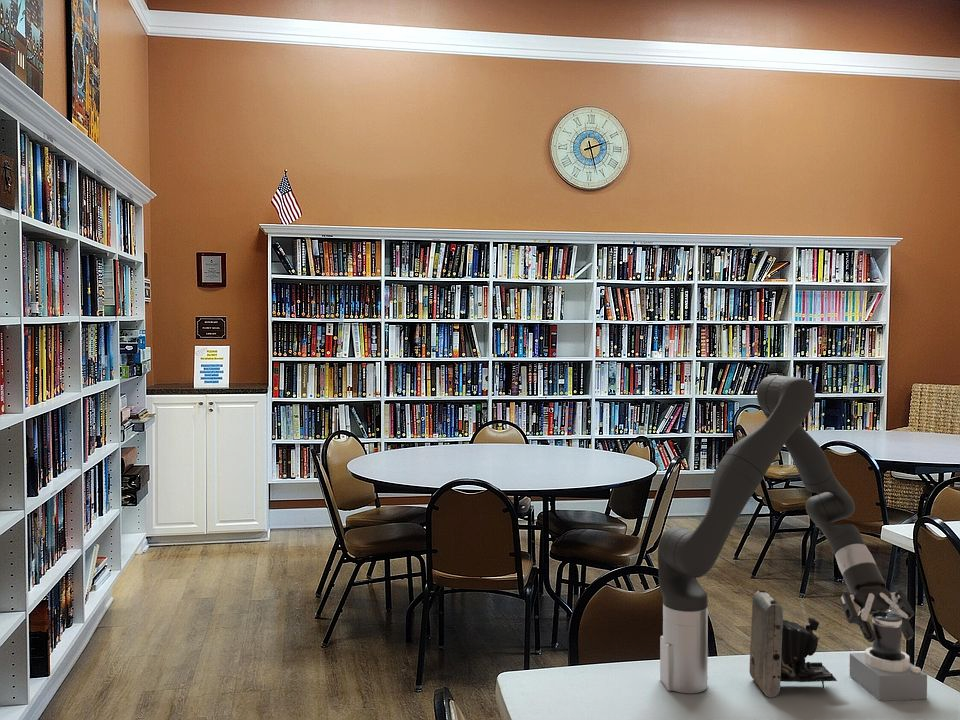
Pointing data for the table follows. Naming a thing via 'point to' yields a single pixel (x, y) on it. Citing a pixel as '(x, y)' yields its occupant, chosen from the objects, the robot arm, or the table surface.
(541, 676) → the table surface
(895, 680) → the grey base with ring
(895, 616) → the lens
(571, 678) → the table surface
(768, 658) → the vintage camera
